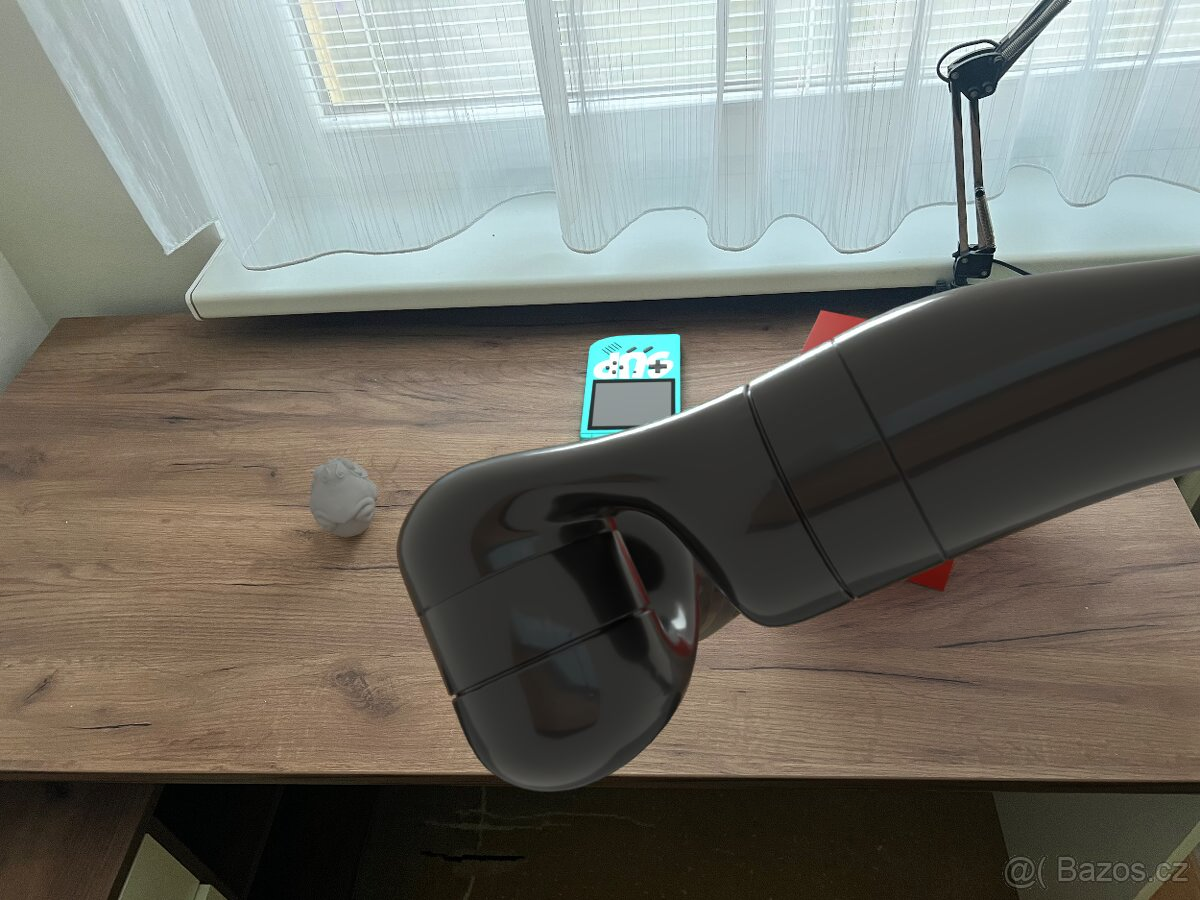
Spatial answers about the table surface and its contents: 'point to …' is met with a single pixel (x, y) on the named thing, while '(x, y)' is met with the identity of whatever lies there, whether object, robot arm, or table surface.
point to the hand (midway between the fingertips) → (744, 539)
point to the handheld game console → (630, 383)
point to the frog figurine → (342, 497)
